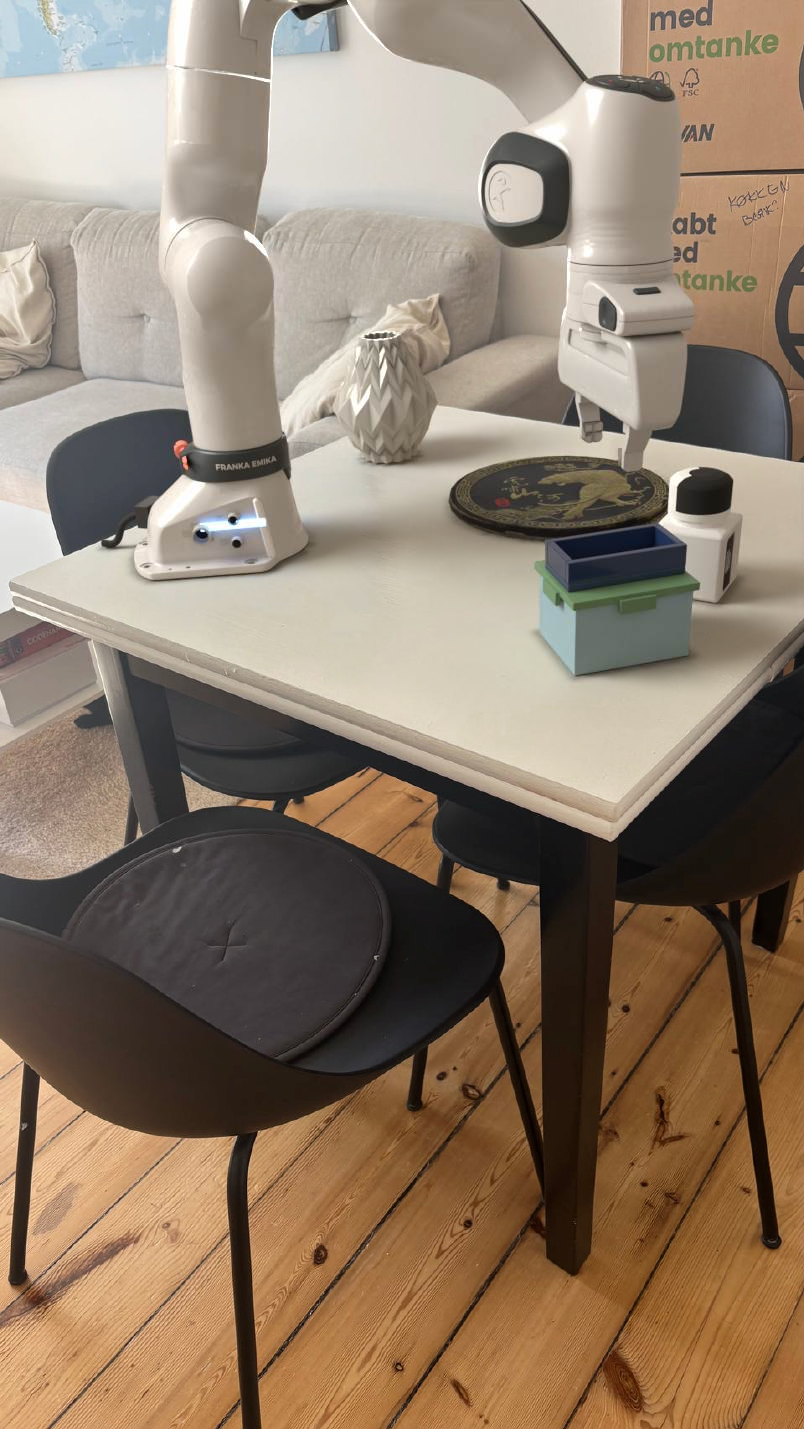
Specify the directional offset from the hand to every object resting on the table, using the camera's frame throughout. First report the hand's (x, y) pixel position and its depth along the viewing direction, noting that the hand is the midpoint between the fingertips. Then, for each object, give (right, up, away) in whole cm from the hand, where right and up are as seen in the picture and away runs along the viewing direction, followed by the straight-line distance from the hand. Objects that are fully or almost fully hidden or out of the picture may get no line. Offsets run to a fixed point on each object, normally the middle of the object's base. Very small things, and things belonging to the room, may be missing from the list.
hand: (609, 454), depth 97 cm
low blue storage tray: (+2, -10, +6) cm, 12 cm away
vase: (-21, +17, +70) cm, 75 cm away
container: (+14, -10, +21) cm, 27 cm away
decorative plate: (+2, +5, +47) cm, 48 cm away
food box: (+2, -17, +10) cm, 20 cm away
